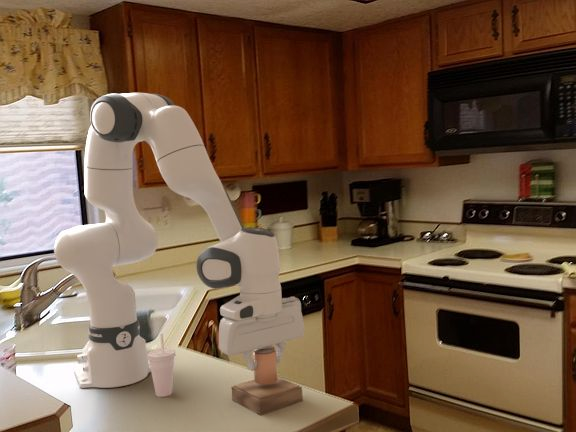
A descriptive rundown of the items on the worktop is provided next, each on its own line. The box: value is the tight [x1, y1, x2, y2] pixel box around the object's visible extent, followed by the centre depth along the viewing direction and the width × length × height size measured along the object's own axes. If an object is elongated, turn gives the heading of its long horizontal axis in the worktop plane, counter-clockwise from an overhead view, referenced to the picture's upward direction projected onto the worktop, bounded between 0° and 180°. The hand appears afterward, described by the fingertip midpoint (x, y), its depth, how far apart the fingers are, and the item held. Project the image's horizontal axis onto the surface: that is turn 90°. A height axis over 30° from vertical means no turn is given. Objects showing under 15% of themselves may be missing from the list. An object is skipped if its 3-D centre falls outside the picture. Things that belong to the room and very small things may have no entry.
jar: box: [252, 345, 278, 384], centre depth 132 cm, size 5×5×7 cm
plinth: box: [231, 376, 303, 416], centre depth 132 cm, size 11×11×3 cm
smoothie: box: [147, 333, 177, 398], centre depth 139 cm, size 6×6×14 cm
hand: (264, 365), depth 132 cm, fingers closed on jar, 5 cm apart
